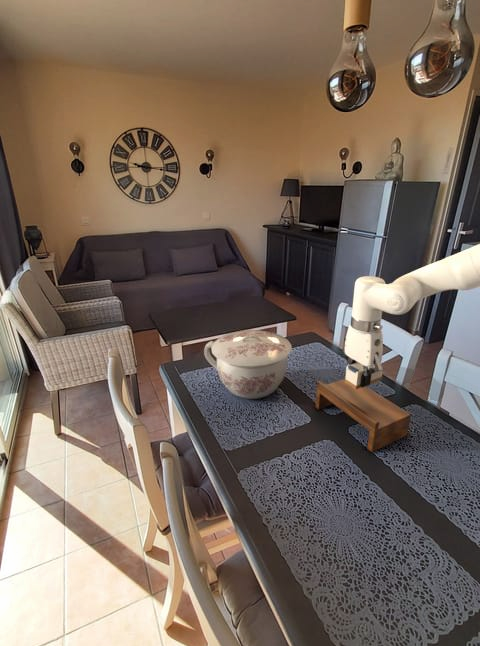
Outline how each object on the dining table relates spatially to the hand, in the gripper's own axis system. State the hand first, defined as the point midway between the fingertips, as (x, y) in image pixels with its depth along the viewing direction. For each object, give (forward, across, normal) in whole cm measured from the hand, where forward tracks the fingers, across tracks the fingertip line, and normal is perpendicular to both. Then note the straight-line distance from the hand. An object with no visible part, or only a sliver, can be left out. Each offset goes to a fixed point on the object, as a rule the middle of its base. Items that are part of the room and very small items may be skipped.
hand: (358, 380), depth 104 cm
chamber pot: (+15, +33, +17) cm, 40 cm away
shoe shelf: (+15, 0, -2) cm, 15 cm away
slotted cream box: (+1, 0, -2) cm, 2 cm away
